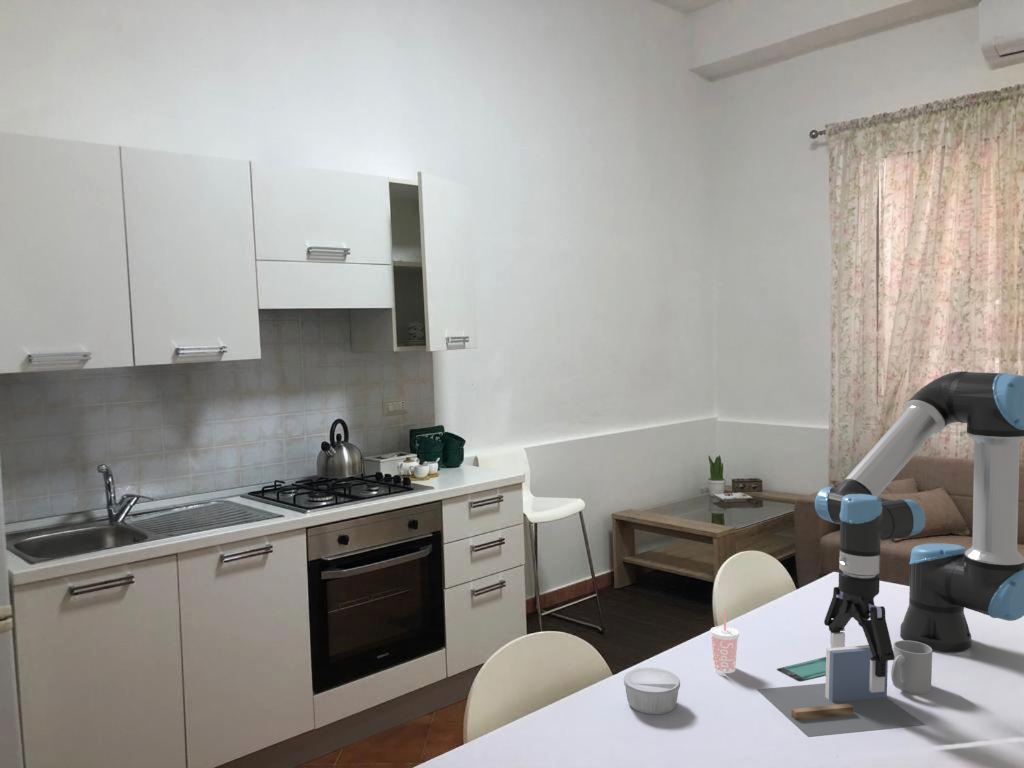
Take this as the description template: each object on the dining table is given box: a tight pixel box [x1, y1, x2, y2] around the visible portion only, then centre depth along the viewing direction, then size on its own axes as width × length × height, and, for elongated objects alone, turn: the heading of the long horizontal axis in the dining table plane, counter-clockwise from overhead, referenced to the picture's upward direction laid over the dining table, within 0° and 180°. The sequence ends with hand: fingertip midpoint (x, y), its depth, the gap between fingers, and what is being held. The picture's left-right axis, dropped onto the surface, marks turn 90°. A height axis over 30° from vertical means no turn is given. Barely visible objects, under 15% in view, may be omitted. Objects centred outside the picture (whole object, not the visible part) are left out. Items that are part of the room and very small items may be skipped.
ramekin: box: [623, 667, 681, 715], centre depth 164 cm, size 11×11×5 cm
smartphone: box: [776, 656, 826, 682], centre depth 179 cm, size 7×1×15 cm
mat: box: [756, 682, 927, 738], centre depth 161 cm, size 24×20×1 cm
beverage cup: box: [710, 607, 740, 676], centre depth 179 cm, size 6×6×14 cm
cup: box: [890, 639, 933, 695], centre depth 169 cm, size 7×10×9 cm
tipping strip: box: [791, 704, 853, 720], centre depth 157 cm, size 12×2×2 cm, turn 100°
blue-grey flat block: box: [825, 644, 889, 702], centre depth 165 cm, size 12×2×10 cm, turn 100°
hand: (856, 677), depth 165 cm, fingers open, 13 cm apart
